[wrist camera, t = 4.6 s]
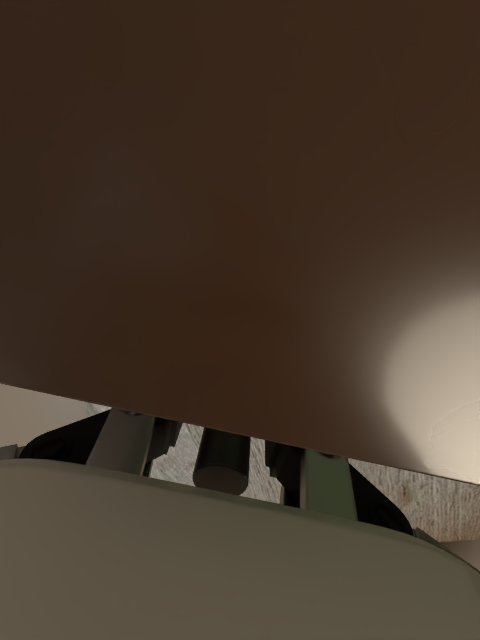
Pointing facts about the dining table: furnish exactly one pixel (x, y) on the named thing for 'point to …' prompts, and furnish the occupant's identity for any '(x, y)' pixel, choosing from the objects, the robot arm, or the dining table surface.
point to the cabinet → (249, 218)
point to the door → (222, 462)
